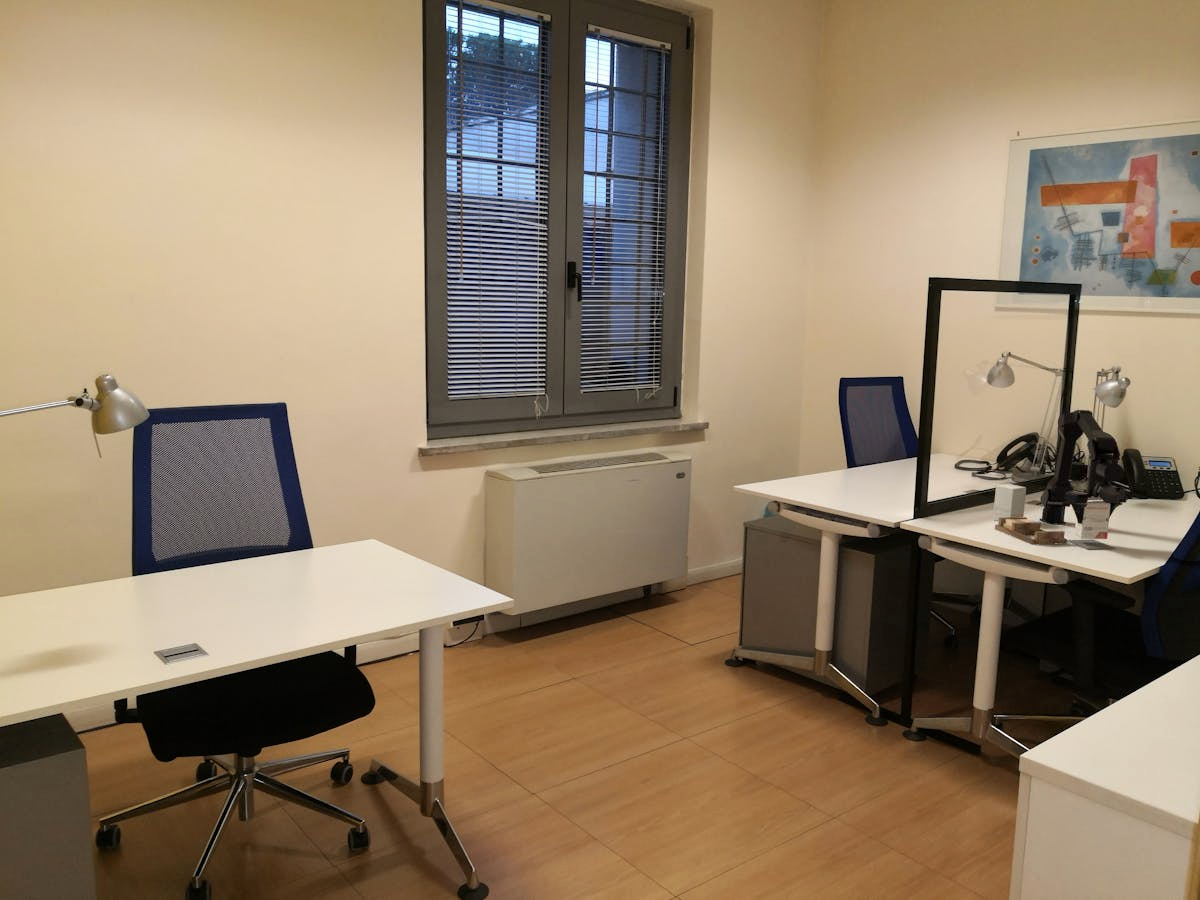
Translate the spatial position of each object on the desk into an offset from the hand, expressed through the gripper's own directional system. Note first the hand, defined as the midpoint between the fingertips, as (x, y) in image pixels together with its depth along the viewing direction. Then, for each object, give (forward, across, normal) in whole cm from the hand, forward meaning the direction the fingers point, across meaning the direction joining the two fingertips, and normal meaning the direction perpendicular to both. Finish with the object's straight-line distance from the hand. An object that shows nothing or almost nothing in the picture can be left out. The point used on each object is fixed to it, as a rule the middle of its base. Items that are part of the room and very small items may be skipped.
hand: (1092, 523), depth 313 cm
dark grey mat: (+7, 0, 0) cm, 7 cm away
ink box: (+5, 0, 0) cm, 5 cm away
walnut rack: (+7, -13, +12) cm, 19 cm away
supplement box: (+8, -7, +33) cm, 34 cm away
